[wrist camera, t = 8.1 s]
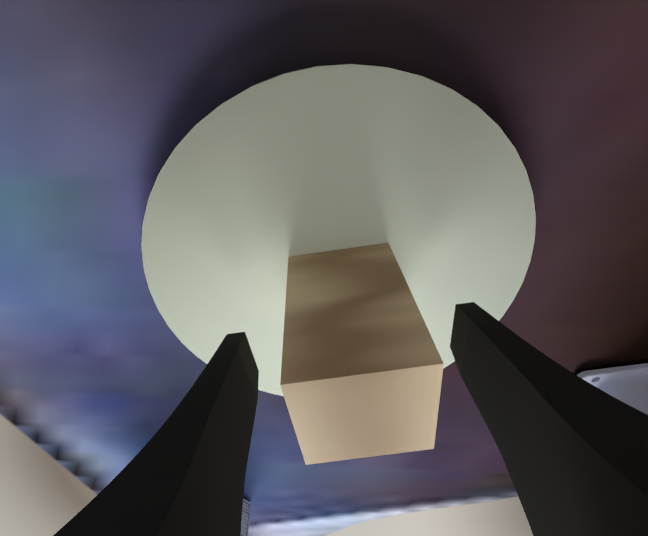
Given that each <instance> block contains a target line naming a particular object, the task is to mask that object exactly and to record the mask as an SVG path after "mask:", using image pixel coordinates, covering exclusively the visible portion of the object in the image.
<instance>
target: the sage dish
mask: <svg viewBox="0 0 648 536" xmlns="http://www.w3.org/2000/svg"><path fill="white" fill-rule="evenodd" d="M535 224H536V214H535V206H534V197H533V192H532V188H531V185H530V181H529V178H528V175H527V171H526V169H525V167H524V165H523V163H522V161H521V159H520V157H519V155H518V153H517V151H516V149H515V147H514V146H513V144H512V143H511V142H510V140H509V139H508V138H507V136H506V135H505V134H504V132H503V131H502V129H501V128H500V127H499V126H498V125H497V124H496V123H495V122H494V121H493V120H492V119H491V118H490V117H489V116H488V115H487V114H486V113H485V112H484V111H483V110H481V109H480V108H479V107H478V106H477V105H475V104H474V103H472V102H471V101H469V100H468V99H466V98H465V97H463V96H462V95H460V94H459V93H457V92H456V91H454V90H453V89H451V88H448V87H446V86H444V85H442V84H439V83H437V82H435V81H432V80H430V79H428V78H425V77H423V76H420V75H416V74H412V73H408V72H404V71H400V70H396V69H392V68H388V67H383V66H371V65H360V64H336V65H321V66H314V67H309V68H305V69H300V70H296V71H291V72H287V73H283V74H281V75H278V76H275V77H273V78H270V79H268V80H265V81H263V82H260V83H258V84H255V85H253V86H251V87H249V88H248V89H246V90H244V91H243V92H241V93H239V94H237V95H236V96H234V97H232V98H230V99H229V100H227V101H225V102H224V103H222V104H221V105H220V106H218V107H217V108H216V109H215V110H213V111H212V112H211V113H210V114H208V115H207V116H206V117H205V118H204V119H202V120H201V121H200V122H199V123H197V124H196V125H195V126H194V127H193V128H192V129H191V131H190V132H189V133H188V134H187V135H186V136H185V137H184V138H183V140H182V141H181V142H180V143H179V144H178V145H177V146H176V147H175V149H174V150H173V152H172V153H171V155H170V156H169V158H168V160H167V161H166V163H165V164H164V166H163V168H162V169H161V171H160V172H159V174H158V177H157V179H156V181H155V184H154V186H153V189H152V191H151V193H150V196H149V198H148V203H147V207H146V211H145V216H144V220H143V228H142V246H141V248H142V257H143V266H144V272H145V276H146V279H147V283H148V287H149V290H150V293H151V295H152V297H153V299H154V302H155V304H156V306H157V308H158V310H159V312H160V314H161V315H162V317H163V318H164V320H165V322H166V323H167V325H168V326H169V328H170V329H171V330H172V331H173V333H174V334H175V335H176V336H177V337H178V339H179V340H180V341H181V342H182V343H183V344H184V345H185V346H186V347H187V348H188V349H189V350H190V351H191V352H192V353H193V354H195V355H196V356H197V357H198V358H200V359H201V360H202V361H204V362H205V363H206V364H208V362H209V361H210V359H211V358H212V356H213V355H214V353H215V352H216V350H217V349H218V347H219V345H220V344H221V342H222V341H223V339H224V338H225V336H226V335H227V334H231V333H239V332H245V334H246V336H247V339H248V342H249V345H250V348H251V350H252V353H253V356H254V359H255V362H256V364H257V367H258V370H259V378H258V390H261V391H264V392H268V393H272V394H276V395H280V396H284V395H283V392H282V389H281V386H280V381H281V365H282V349H283V333H284V317H285V301H286V285H287V269H288V257H289V256H296V255H303V254H310V253H317V252H325V251H332V250H339V249H346V248H353V247H360V246H367V245H375V244H382V243H389V245H390V247H391V249H392V251H393V254H394V256H395V258H396V260H397V262H398V265H399V267H400V269H401V271H402V273H403V275H404V278H405V280H406V282H407V284H408V286H409V289H410V291H411V293H412V295H413V297H414V300H415V302H416V304H417V306H418V308H419V311H420V313H421V315H422V317H423V319H424V321H425V324H426V326H427V328H428V330H429V332H430V335H431V337H432V339H433V341H434V343H435V346H436V348H437V350H438V352H439V354H440V357H441V359H442V361H443V363H444V365H443V368H445V367H447V366H448V365H450V364H451V363H453V362H454V361H455V359H454V357H453V354H452V351H451V348H450V342H451V334H452V327H453V320H454V312H455V305H456V304H462V303H470V302H474V303H476V304H477V305H478V306H480V307H481V308H482V309H484V310H485V311H486V312H488V313H489V314H490V315H491V316H493V317H494V318H495V319H497V320H498V321H499V320H500V319H501V318H502V317H503V315H504V314H505V312H506V311H507V309H508V308H509V306H510V305H511V303H512V302H513V300H514V298H515V296H516V294H517V293H518V291H519V289H520V287H521V285H522V283H523V281H524V278H525V275H526V272H527V269H528V266H529V264H530V261H531V256H532V251H533V246H534V241H535Z"/></svg>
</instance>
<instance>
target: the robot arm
mask: <svg viewBox="0 0 648 536" xmlns="http://www.w3.org/2000/svg"><path fill="white" fill-rule="evenodd" d="M450 348H451V351H452V354H453V357H454V359H455V362H456V365H457V367H458V370H459V372H460V375H461V377H462V379H463V381H464V382H465V384H466V386H467V388H468V390H469V392H470V394H471V396H472V398H473V400H474V402H475V404H476V405H477V407H478V409H479V411H480V413H481V415H482V417H483V419H484V421H485V422H486V424H487V426H488V428H489V430H490V432H491V434H492V436H493V438H494V440H495V442H496V444H497V446H498V448H499V450H500V452H501V455H502V457H503V459H504V462H505V464H506V467H507V469H508V472H509V474H510V476H511V479H512V481H513V484H514V486H515V489H516V491H517V494H518V496H519V499H520V501H521V504H522V506H523V509H524V511H525V514H526V517H527V519H528V522H529V525H530V527H531V530H532V533H533V535H534V536H648V363H643V364H635V365H627V366H619V367H611V368H603V369H595V370H587V371H582V372H580V373H579V374H577V375H575V374H573V373H572V372H570V371H569V370H567V369H565V368H564V367H562V366H561V365H559V364H558V363H556V362H555V361H553V360H552V359H550V358H549V357H547V356H546V355H544V354H543V353H541V352H540V351H539V350H537V349H536V348H534V347H533V346H531V345H530V344H529V343H527V342H526V341H524V340H523V339H522V338H520V337H519V336H518V335H516V334H515V333H514V332H512V331H511V330H510V329H508V328H507V327H506V326H504V325H503V324H502V323H500V322H499V321H498V320H497V319H495V318H494V317H493V316H491V315H490V314H489V313H488V312H486V311H485V310H484V309H482V308H481V307H480V306H478V305H477V304H476V303H474V302H470V303H462V304H456V305H455V312H454V320H453V327H452V334H451V342H450ZM258 378H259V370H258V367H257V364H256V362H255V359H254V356H253V353H252V350H251V348H250V345H249V342H248V339H247V336H246V334H245V332H239V333H231V334H227V335H226V336H225V338H224V339H223V341H222V342H221V344H220V345H219V347H218V349H217V350H216V352H215V353H214V355H213V356H212V358H211V359H210V361H209V362H208V364H207V366H206V367H205V369H204V370H203V371H202V373H201V374H200V376H199V377H198V379H197V380H196V382H195V383H194V385H193V386H192V387H191V389H190V390H189V392H188V393H187V394H186V396H185V397H184V398H183V400H182V401H181V402H180V404H179V405H178V406H177V408H176V409H175V410H174V412H173V413H172V414H171V416H170V417H169V418H168V419H167V421H166V422H165V423H164V424H163V425H162V427H161V428H160V429H159V430H158V432H157V433H156V434H155V435H154V436H153V437H152V439H151V440H150V441H149V442H148V443H147V444H146V445H145V447H144V448H143V449H142V450H141V451H140V452H139V453H138V454H137V455H136V456H135V457H134V459H133V460H132V461H131V462H130V463H129V464H128V465H127V466H126V467H125V468H124V469H123V470H122V471H121V472H120V473H119V474H118V475H117V476H116V477H115V478H114V479H113V480H112V481H111V483H110V484H109V485H108V486H107V487H105V488H104V489H103V490H102V491H101V492H100V493H99V494H98V495H97V496H96V497H95V498H94V499H93V500H92V501H91V502H90V503H89V504H88V505H87V506H86V507H84V508H83V509H82V510H81V511H80V512H79V513H78V514H77V515H76V516H75V517H74V518H73V519H71V520H70V521H69V522H68V523H67V524H66V525H65V526H64V527H63V528H61V529H60V530H59V531H58V532H57V533H56V534H55V535H54V536H241V520H242V506H243V493H244V481H245V473H246V466H247V460H248V454H249V448H250V442H251V436H252V430H253V424H254V418H255V412H256V406H257V398H258Z"/></svg>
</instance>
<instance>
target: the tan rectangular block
mask: <svg viewBox="0 0 648 536" xmlns="http://www.w3.org/2000/svg"><path fill="white" fill-rule="evenodd" d="M443 365H444V363H443V361H442V359H441V357H440V354H439V352H438V350H437V348H436V346H435V343H434V341H433V339H432V337H431V335H430V332H429V330H428V328H427V326H426V324H425V321H424V319H423V317H422V315H421V313H420V311H419V308H418V306H417V304H416V302H415V300H414V297H413V295H412V293H411V291H410V289H409V286H408V284H407V282H406V280H405V278H404V275H403V273H402V271H401V269H400V267H399V265H398V262H397V260H396V258H395V256H394V254H393V251H392V249H391V247H390V245H389V243H382V244H375V245H367V246H360V247H353V248H346V249H339V250H332V251H325V252H317V253H310V254H303V255H296V256H289V257H288V269H287V285H286V301H285V317H284V333H283V349H282V365H281V381H280V386H281V389H282V392H283V395H284V398H285V401H286V404H287V407H288V411H289V414H290V417H291V420H292V423H293V426H294V429H295V432H296V435H297V438H298V442H299V445H300V448H301V451H302V454H303V457H304V460H305V463H306V465H308V464H316V463H324V462H332V461H340V460H348V459H356V458H364V457H372V456H380V455H388V454H396V453H404V452H412V451H420V450H428V449H434V442H435V434H436V425H437V417H438V408H439V400H440V391H441V383H442V374H443Z"/></svg>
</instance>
